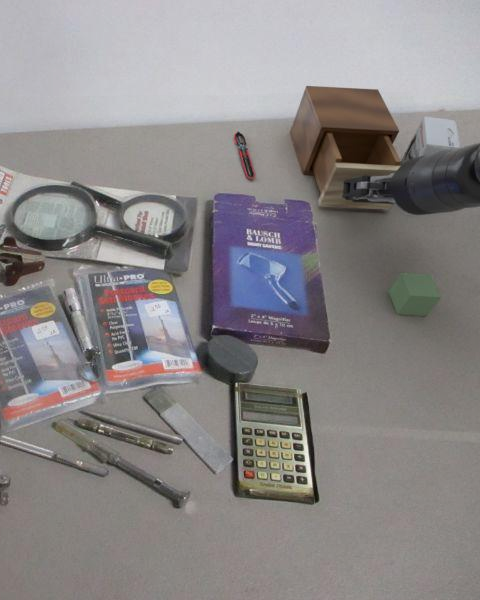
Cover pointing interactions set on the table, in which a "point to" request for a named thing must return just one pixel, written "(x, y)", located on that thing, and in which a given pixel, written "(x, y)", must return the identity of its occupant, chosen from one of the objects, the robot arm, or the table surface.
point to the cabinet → (337, 118)
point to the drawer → (352, 165)
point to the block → (414, 294)
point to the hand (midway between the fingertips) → (376, 194)
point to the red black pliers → (244, 155)
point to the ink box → (432, 138)
